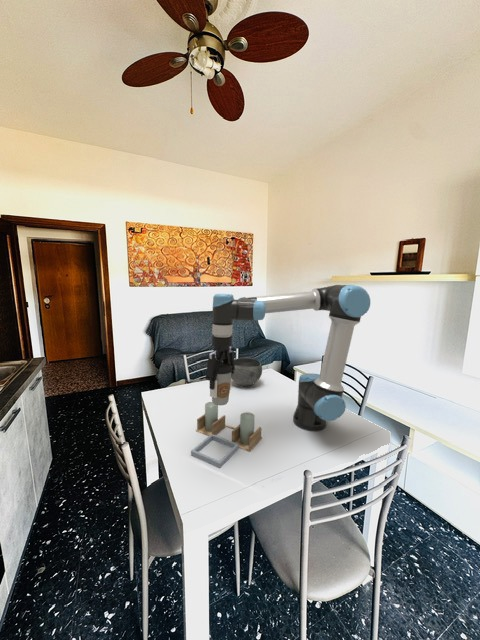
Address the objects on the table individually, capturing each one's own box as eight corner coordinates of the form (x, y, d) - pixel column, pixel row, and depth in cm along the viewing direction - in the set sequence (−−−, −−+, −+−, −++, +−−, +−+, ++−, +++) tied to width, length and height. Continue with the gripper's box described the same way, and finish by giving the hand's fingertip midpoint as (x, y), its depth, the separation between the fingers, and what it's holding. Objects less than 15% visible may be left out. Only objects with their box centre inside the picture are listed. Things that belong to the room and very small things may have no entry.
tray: (239, 450, 102) (239, 444, 102) (219, 470, 91) (219, 463, 91) (211, 439, 109) (211, 433, 108) (190, 457, 98) (190, 450, 97)
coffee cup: (213, 408, 97) (214, 369, 95) (206, 399, 104) (207, 362, 102) (234, 404, 101) (235, 366, 99) (226, 396, 108) (227, 360, 106)
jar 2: (256, 440, 107) (257, 415, 106) (248, 447, 103) (249, 421, 101) (244, 435, 111) (245, 410, 109) (237, 442, 106) (237, 416, 104)
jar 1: (220, 427, 116) (220, 403, 115) (212, 433, 112) (213, 409, 110) (210, 423, 119) (210, 400, 118) (202, 429, 114) (202, 405, 113)
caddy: (261, 439, 109) (262, 426, 108) (249, 453, 100) (250, 439, 99) (210, 422, 122) (210, 409, 121) (195, 432, 113) (195, 419, 112)
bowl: (225, 389, 160) (225, 365, 158) (232, 377, 180) (232, 355, 178) (260, 392, 156) (260, 368, 154) (262, 379, 177) (263, 358, 175)
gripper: (229, 330, 110) (228, 382, 113) (195, 338, 92) (194, 399, 95) (245, 332, 106) (243, 386, 109) (212, 341, 88) (211, 405, 91)
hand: (220, 392), depth 102 cm, fingers closed on coffee cup, 8 cm apart
